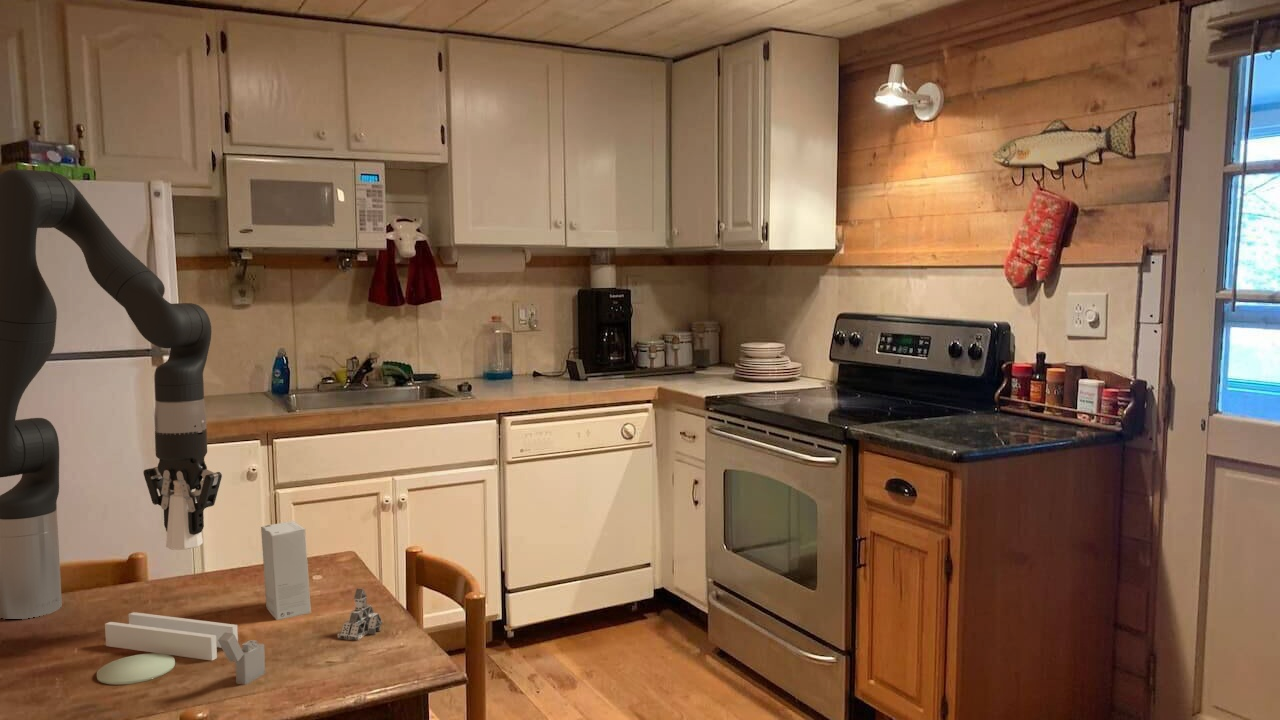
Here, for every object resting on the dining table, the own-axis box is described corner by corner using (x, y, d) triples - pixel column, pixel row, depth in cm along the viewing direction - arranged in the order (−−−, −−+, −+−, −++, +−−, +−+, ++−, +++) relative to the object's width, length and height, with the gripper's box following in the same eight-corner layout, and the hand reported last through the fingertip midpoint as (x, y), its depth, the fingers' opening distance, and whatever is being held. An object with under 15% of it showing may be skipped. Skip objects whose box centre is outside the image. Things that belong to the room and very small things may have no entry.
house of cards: (378, 652, 144) (377, 603, 143) (329, 646, 146) (328, 597, 146) (409, 631, 152) (408, 585, 152) (363, 626, 155) (362, 580, 154)
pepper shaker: (210, 542, 155) (208, 476, 154) (184, 551, 150) (182, 483, 149) (184, 539, 156) (182, 474, 156) (158, 548, 151) (155, 480, 150)
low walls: (105, 645, 146) (104, 623, 145) (134, 633, 151) (133, 612, 151) (212, 660, 140) (211, 637, 140) (238, 647, 145) (237, 624, 145)
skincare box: (311, 615, 159) (308, 529, 158) (274, 622, 156) (271, 534, 154) (299, 601, 166) (296, 518, 165) (263, 608, 162) (259, 523, 161)
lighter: (256, 671, 136) (254, 617, 135) (266, 673, 135) (264, 619, 135) (219, 691, 129) (217, 635, 128) (229, 693, 128) (227, 636, 128)
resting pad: (80, 679, 133) (79, 676, 133) (136, 653, 143) (136, 650, 143) (136, 688, 130) (136, 684, 130) (190, 660, 140) (190, 657, 140)
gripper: (126, 428, 150) (130, 534, 151) (199, 433, 146) (203, 542, 147) (163, 421, 157) (166, 522, 158) (234, 426, 153) (236, 530, 154)
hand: (184, 531), depth 153 cm, fingers closed on pepper shaker, 4 cm apart
